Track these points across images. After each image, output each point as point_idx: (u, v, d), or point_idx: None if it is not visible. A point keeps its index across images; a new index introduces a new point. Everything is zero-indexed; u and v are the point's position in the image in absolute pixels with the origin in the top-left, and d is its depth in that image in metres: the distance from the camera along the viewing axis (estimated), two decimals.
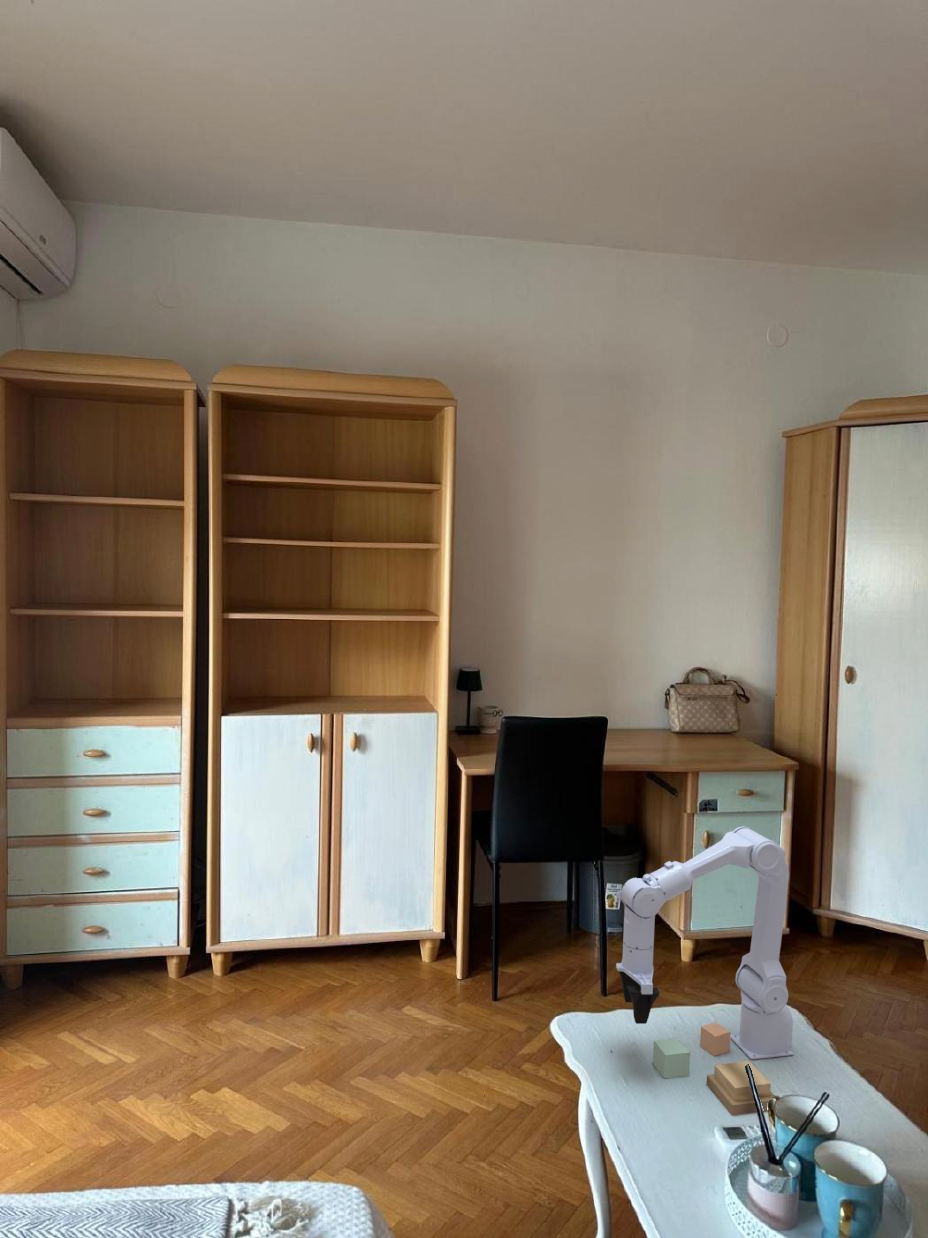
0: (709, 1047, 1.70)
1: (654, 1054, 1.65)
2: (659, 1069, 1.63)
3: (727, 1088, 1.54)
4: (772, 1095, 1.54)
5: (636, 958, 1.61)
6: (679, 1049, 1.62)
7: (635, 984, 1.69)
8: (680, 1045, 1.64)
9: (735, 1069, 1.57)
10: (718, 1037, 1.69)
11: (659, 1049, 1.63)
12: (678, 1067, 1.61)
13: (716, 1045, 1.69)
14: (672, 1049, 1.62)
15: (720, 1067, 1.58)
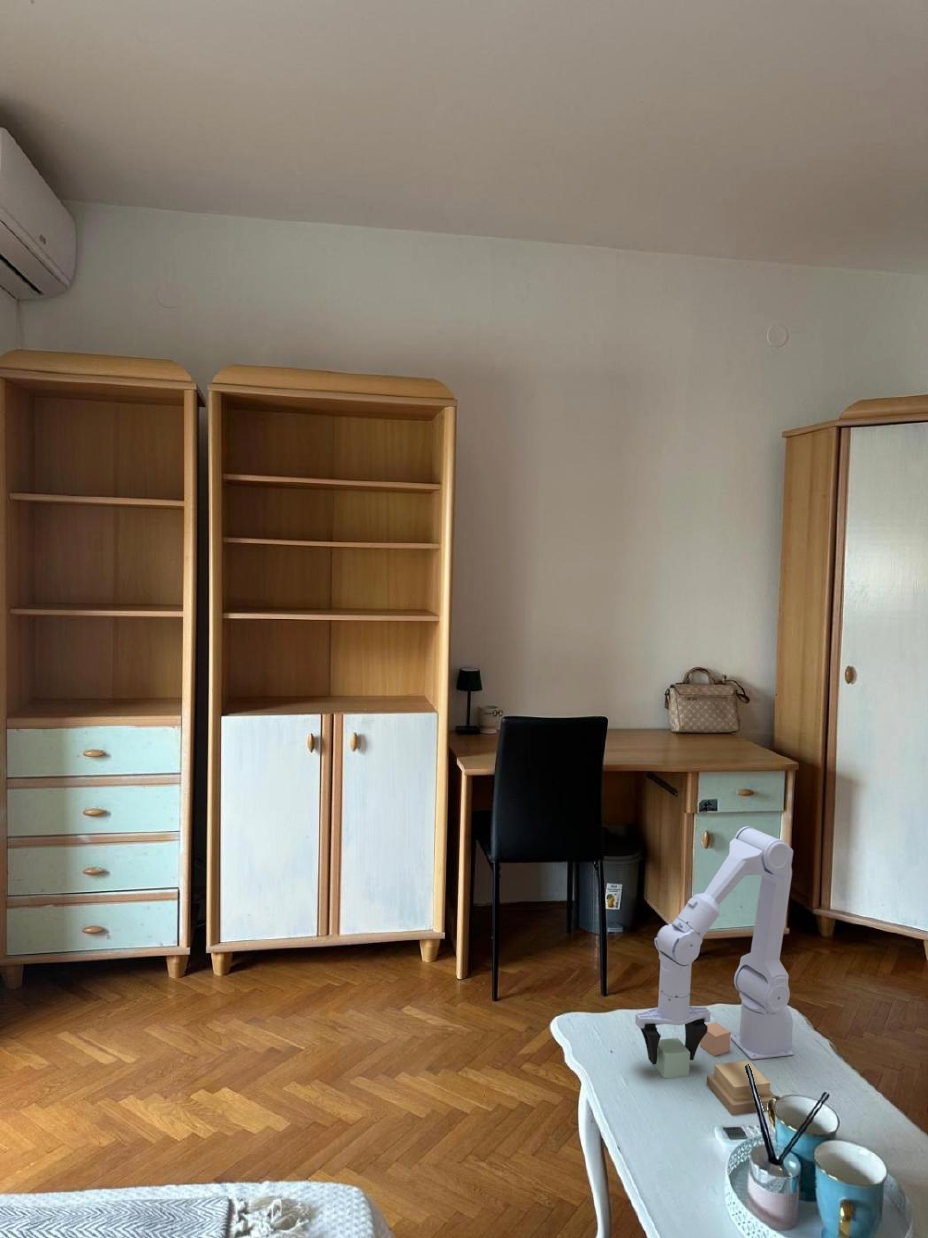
0: (709, 1047, 1.70)
1: None
2: (659, 1069, 1.63)
3: (726, 1087, 1.54)
4: (772, 1095, 1.54)
5: None
6: (679, 1049, 1.62)
7: (691, 1042, 1.63)
8: (680, 1045, 1.64)
9: (735, 1069, 1.57)
10: (718, 1037, 1.69)
11: (659, 1049, 1.63)
12: (678, 1067, 1.61)
13: (716, 1045, 1.69)
14: (671, 1049, 1.62)
15: (719, 1066, 1.58)
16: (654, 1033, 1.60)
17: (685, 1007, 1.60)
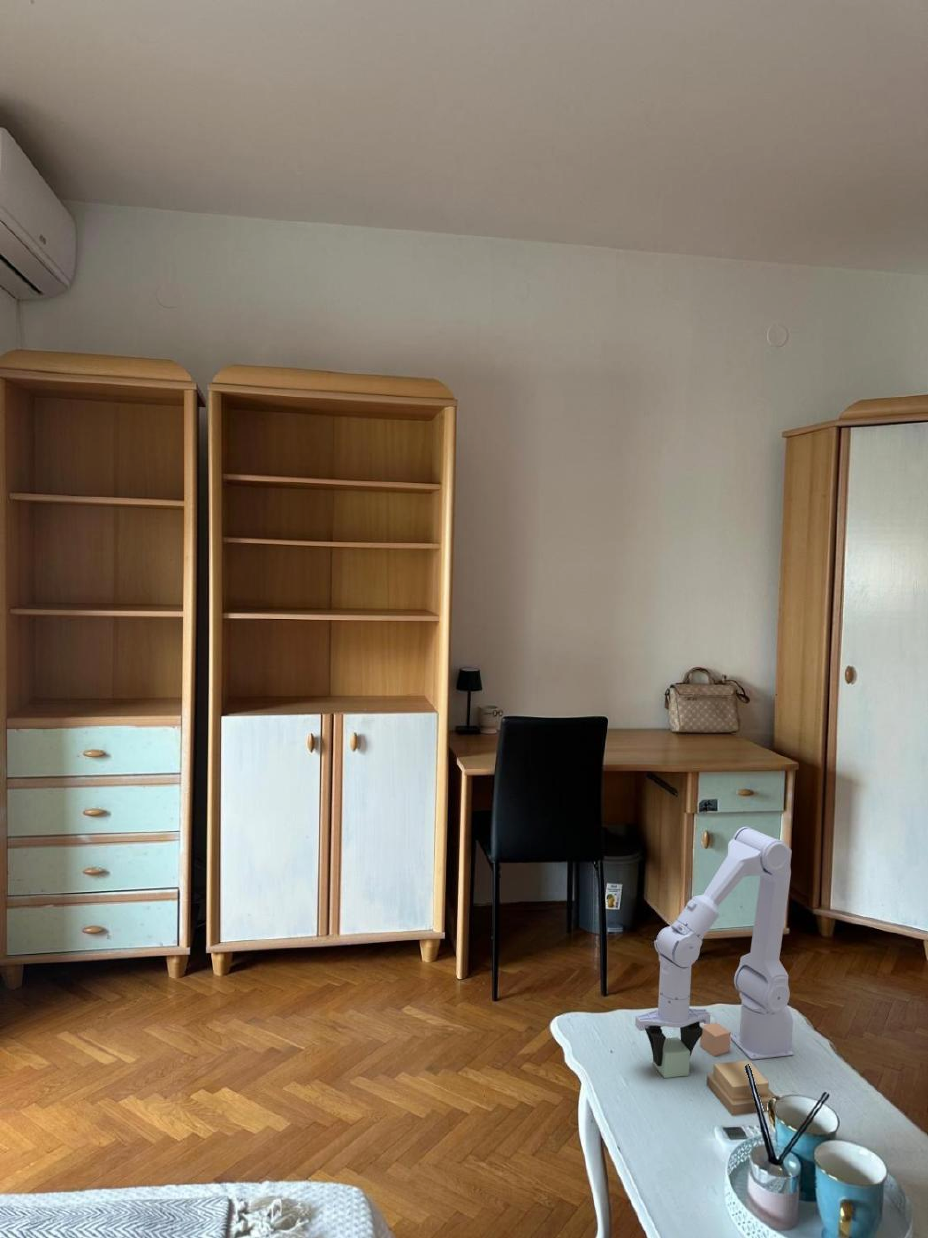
0: (709, 1047, 1.70)
1: None
2: (659, 1068, 1.63)
3: (725, 1087, 1.54)
4: (772, 1095, 1.53)
5: None
6: (679, 1048, 1.62)
7: (686, 1044, 1.63)
8: (680, 1044, 1.64)
9: (734, 1068, 1.57)
10: (718, 1037, 1.69)
11: None
12: (678, 1067, 1.61)
13: (716, 1045, 1.69)
14: (672, 1048, 1.62)
15: (719, 1066, 1.58)
16: (659, 1035, 1.60)
17: (685, 1009, 1.60)
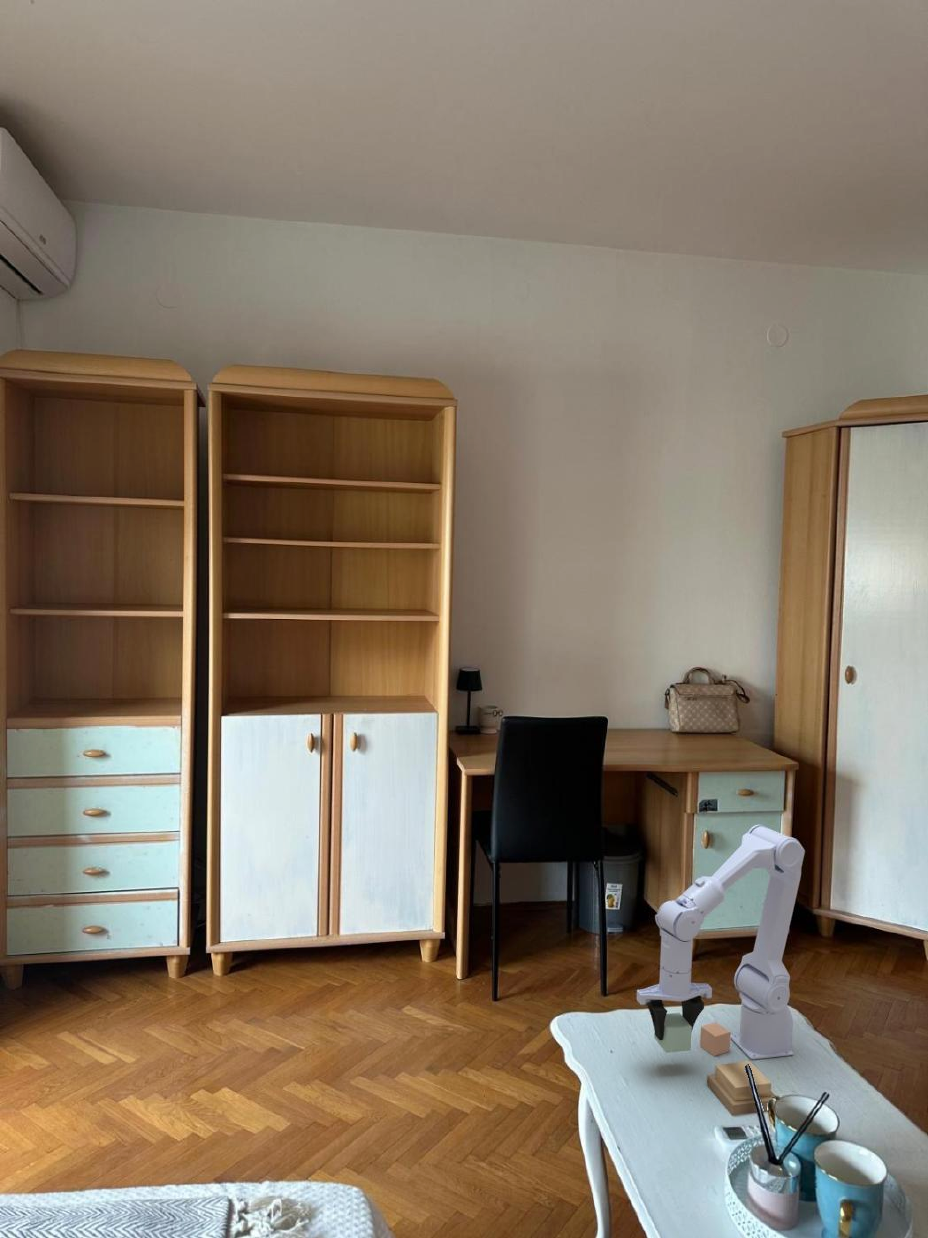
0: (709, 1047, 1.70)
1: None
2: (661, 1043, 1.62)
3: (728, 1088, 1.54)
4: (772, 1095, 1.53)
5: None
6: (681, 1023, 1.62)
7: (688, 1018, 1.63)
8: (682, 1020, 1.63)
9: (736, 1069, 1.57)
10: (718, 1037, 1.69)
11: None
12: (680, 1042, 1.61)
13: (716, 1045, 1.69)
14: (673, 1023, 1.62)
15: (720, 1067, 1.58)
16: (660, 1009, 1.60)
17: (686, 983, 1.60)
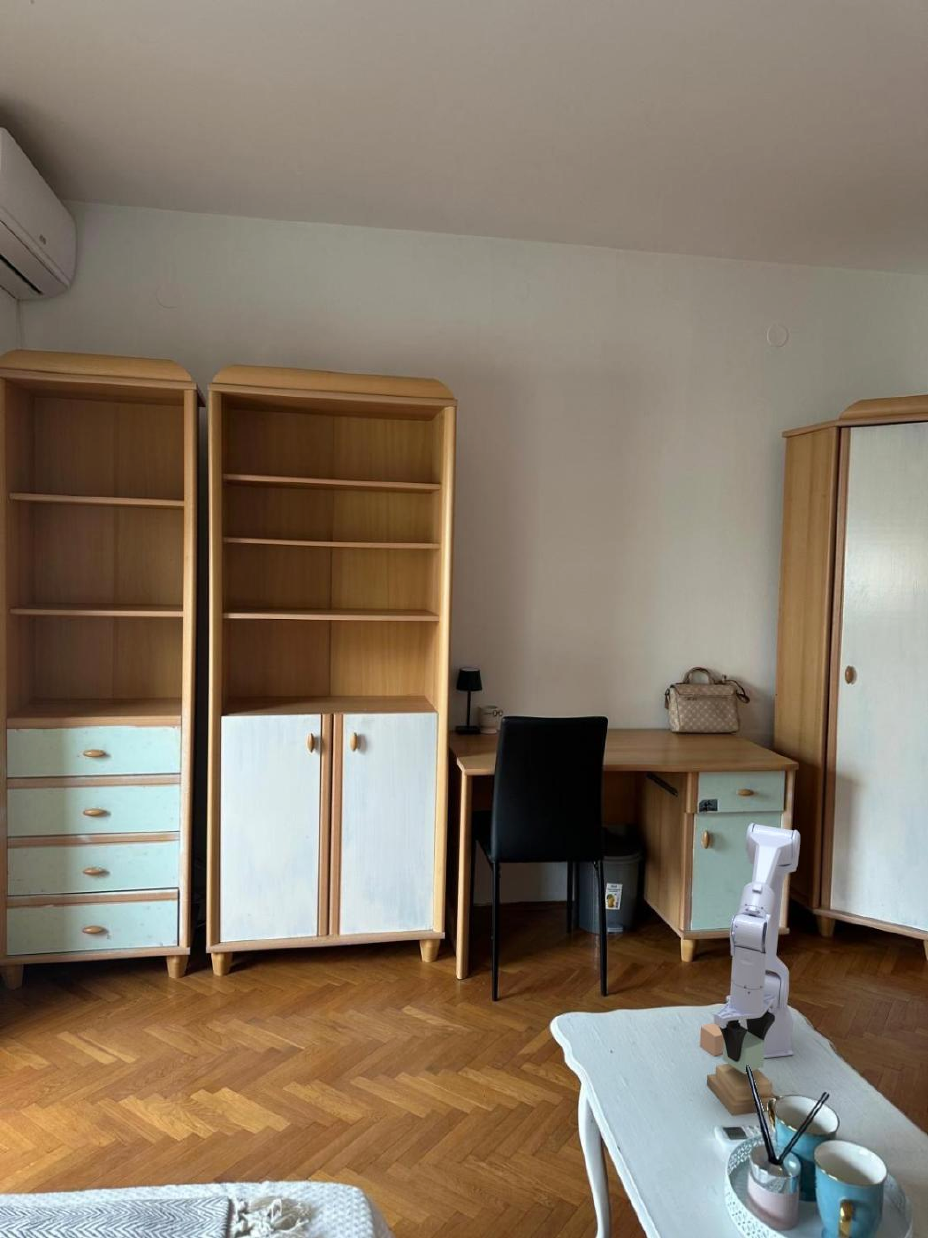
0: (709, 1047, 1.70)
1: (725, 1050, 1.56)
2: (735, 1065, 1.54)
3: (728, 1088, 1.54)
4: (772, 1095, 1.53)
5: (732, 991, 1.54)
6: (753, 1040, 1.55)
7: (758, 1033, 1.56)
8: (751, 1036, 1.56)
9: None
10: (718, 1037, 1.69)
11: None
12: (755, 1060, 1.53)
13: (716, 1045, 1.69)
14: (746, 1041, 1.54)
15: (721, 1067, 1.58)
16: (741, 1029, 1.51)
17: (763, 997, 1.53)
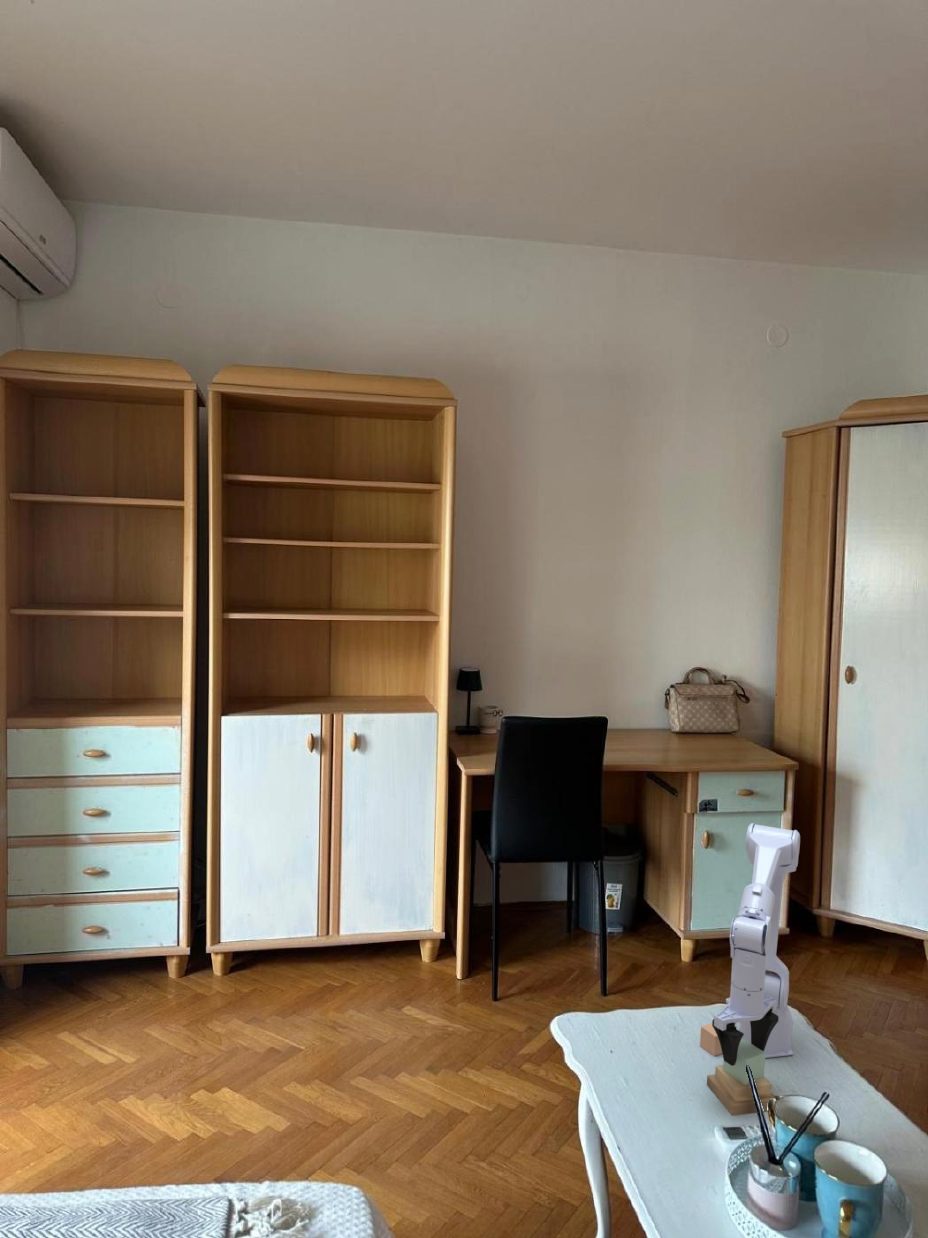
0: (709, 1047, 1.70)
1: None
2: (735, 1076, 1.54)
3: (728, 1089, 1.54)
4: (772, 1096, 1.53)
5: (732, 994, 1.54)
6: (753, 1050, 1.55)
7: (762, 1034, 1.56)
8: (751, 1046, 1.56)
9: None
10: None
11: None
12: (756, 1070, 1.54)
13: (716, 1045, 1.69)
14: (747, 1052, 1.55)
15: (721, 1068, 1.58)
16: (737, 1033, 1.50)
17: (763, 999, 1.53)
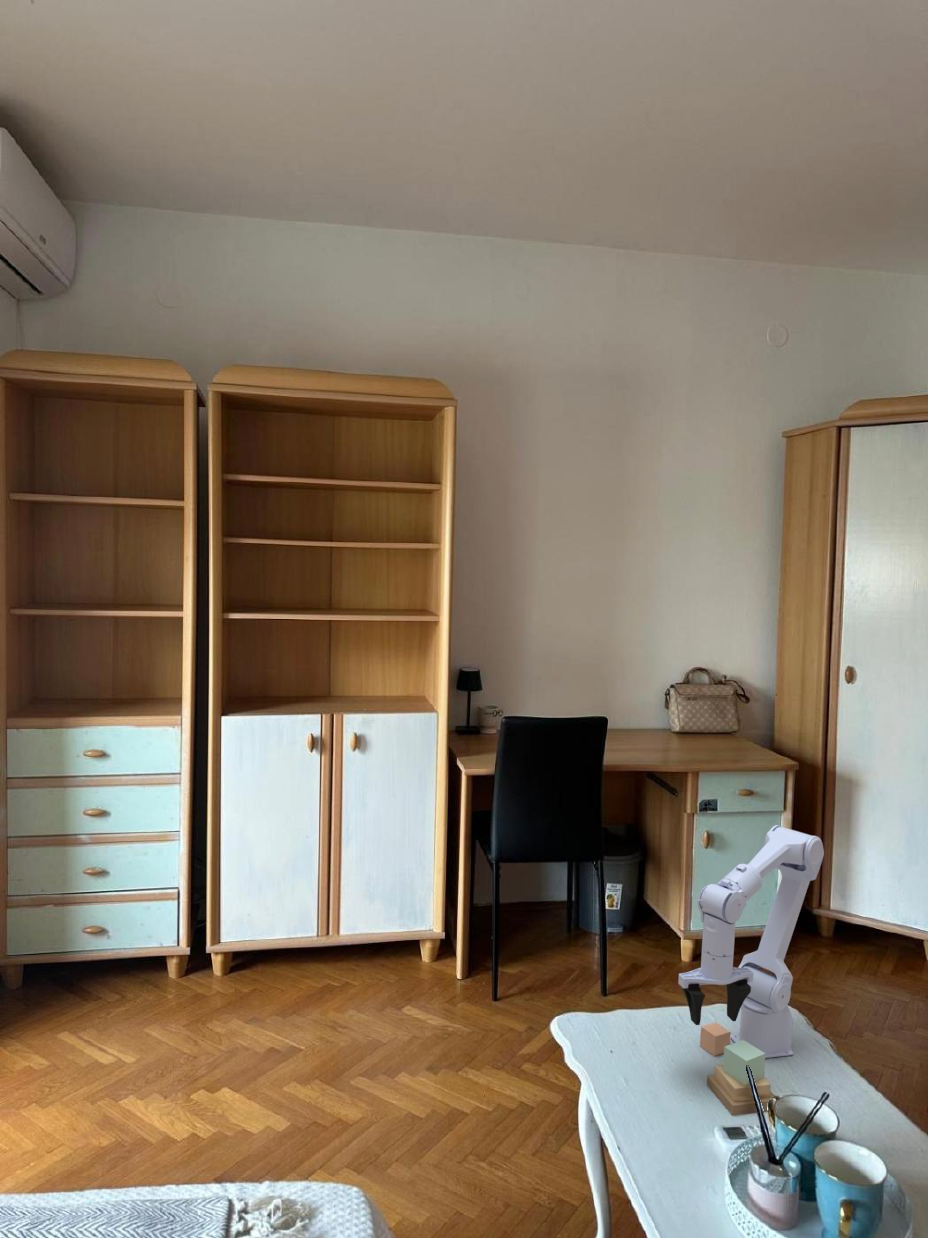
0: (709, 1047, 1.70)
1: (725, 1061, 1.56)
2: (735, 1076, 1.54)
3: (727, 1089, 1.54)
4: (772, 1095, 1.53)
5: (701, 957, 1.61)
6: (753, 1051, 1.55)
7: (734, 1002, 1.62)
8: (751, 1047, 1.56)
9: None
10: (718, 1037, 1.69)
11: (734, 1056, 1.54)
12: (756, 1071, 1.53)
13: (716, 1045, 1.69)
14: (747, 1053, 1.54)
15: (720, 1067, 1.58)
16: (698, 993, 1.58)
17: (729, 966, 1.59)
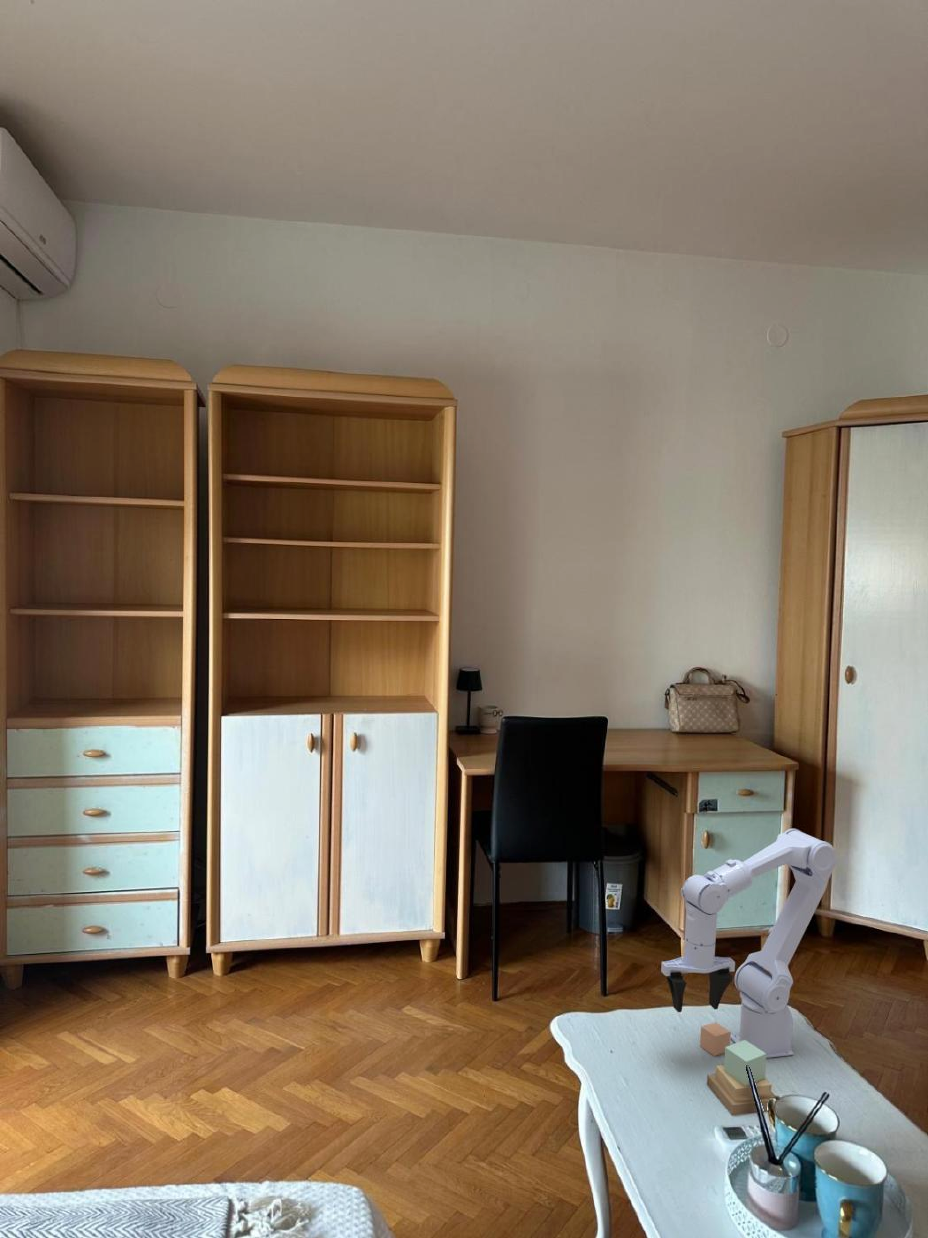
0: (709, 1047, 1.70)
1: (726, 1062, 1.56)
2: (736, 1077, 1.54)
3: (728, 1089, 1.54)
4: (772, 1095, 1.53)
5: (684, 946, 1.66)
6: (754, 1051, 1.55)
7: (716, 991, 1.66)
8: (752, 1047, 1.56)
9: None
10: (718, 1037, 1.69)
11: (734, 1056, 1.54)
12: (757, 1072, 1.53)
13: (716, 1045, 1.69)
14: (747, 1053, 1.54)
15: (721, 1067, 1.57)
16: (680, 980, 1.62)
17: (711, 955, 1.63)
